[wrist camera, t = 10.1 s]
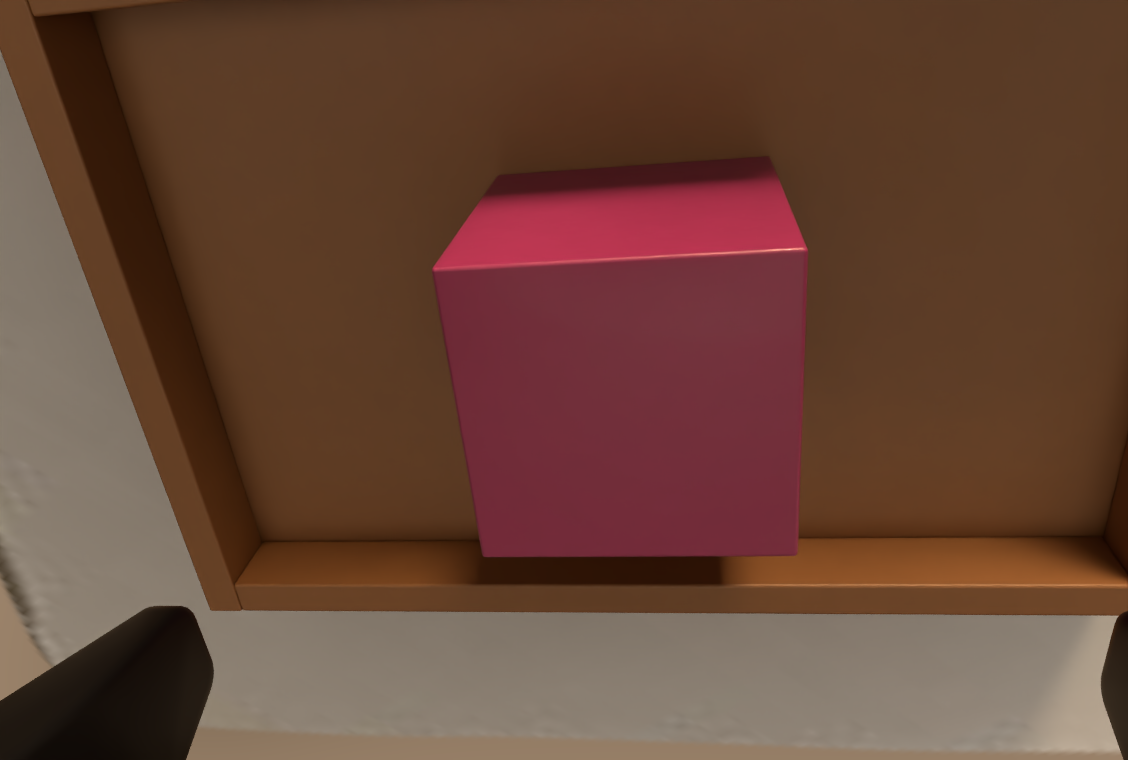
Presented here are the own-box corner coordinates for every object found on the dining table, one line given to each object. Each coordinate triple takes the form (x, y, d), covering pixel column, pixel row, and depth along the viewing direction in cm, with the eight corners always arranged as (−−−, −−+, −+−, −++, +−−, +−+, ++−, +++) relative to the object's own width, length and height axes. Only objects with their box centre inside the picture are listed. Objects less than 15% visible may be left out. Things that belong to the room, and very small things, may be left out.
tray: (1310, -183, 13) (1419, -201, 11) (1125, 550, 19) (1173, 617, 17) (51, -37, 16) (-32, -31, 14) (249, 553, 22) (209, 611, 20)
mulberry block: (770, 155, 15) (808, 248, 11) (767, 399, 18) (797, 557, 13) (496, 174, 16) (429, 268, 12) (527, 407, 18) (481, 558, 14)
